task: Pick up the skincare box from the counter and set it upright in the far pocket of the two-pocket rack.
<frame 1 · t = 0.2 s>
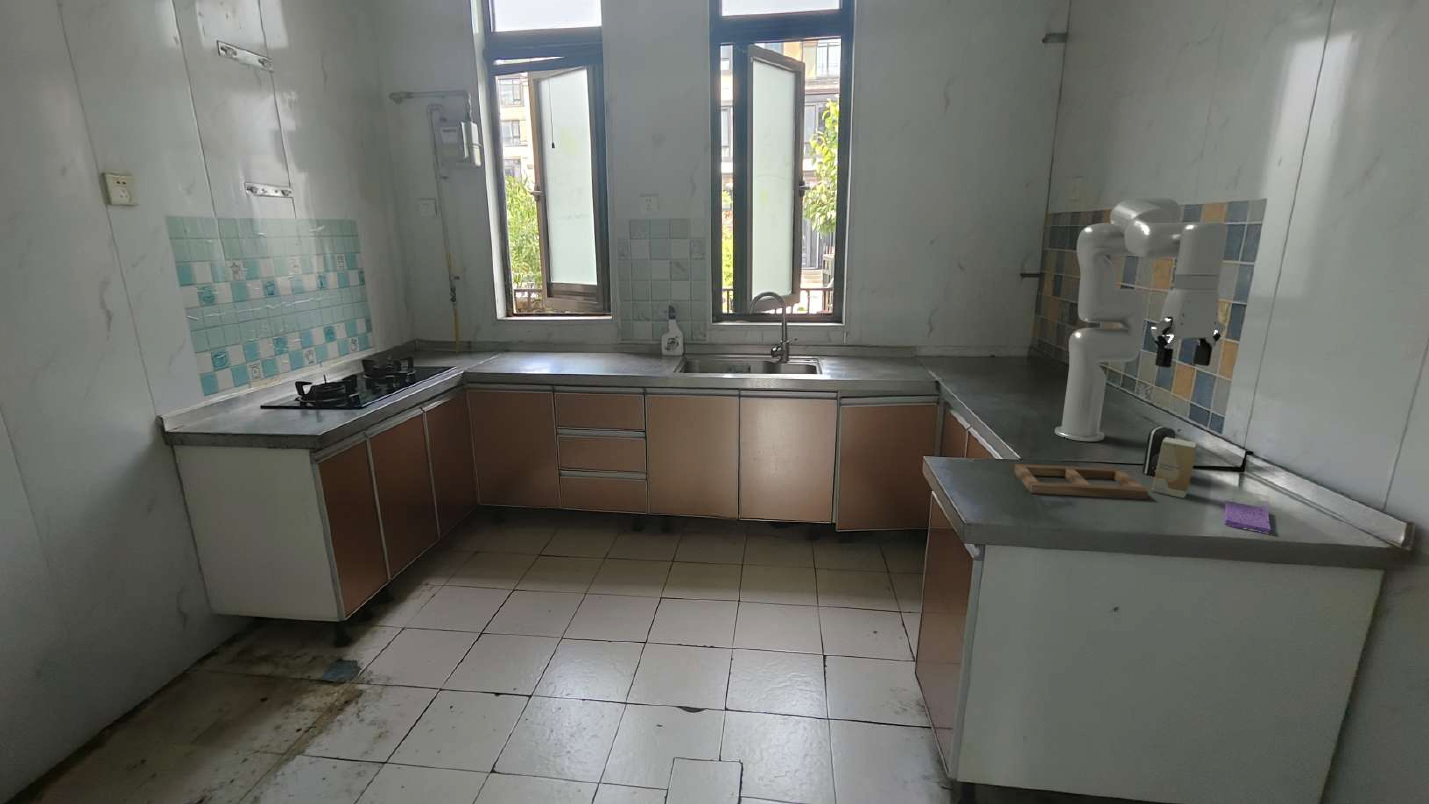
hand: (1182, 365, 134), 30 cm above the counter, tool pointing down, fingers open, 9 cm apart
skincare box: (1169, 493, 143), on the counter
sponges: (1245, 522, 130), on the counter
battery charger: (1155, 473, 155), on the counter
rack: (1076, 484, 148), on the counter
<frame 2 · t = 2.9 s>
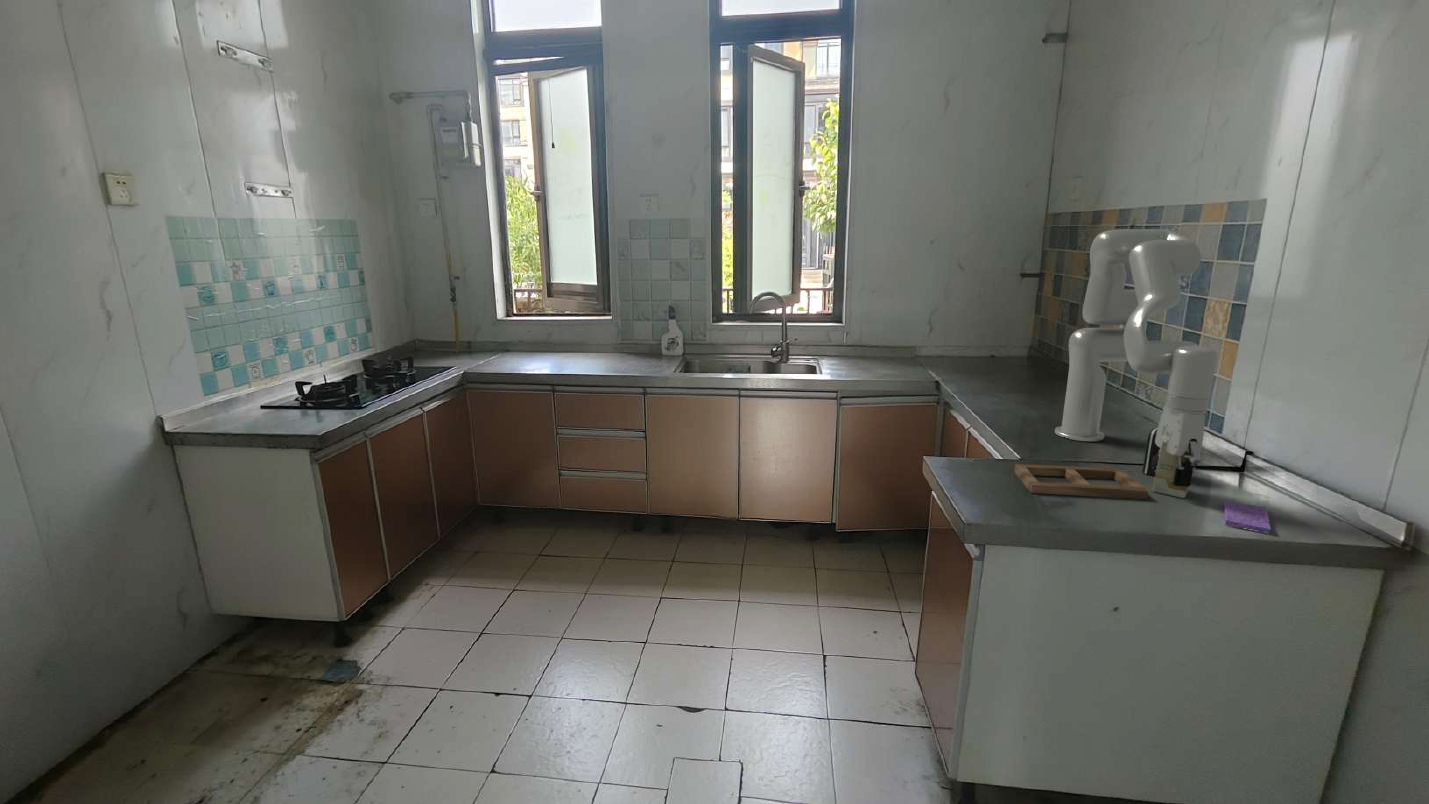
hand: (1172, 479, 142), 3 cm above the counter, tool pointing down, fingers closed on skincare box, 6 cm apart
skincare box: (1170, 493, 143), on the counter, touching gripper
everything else where it was.
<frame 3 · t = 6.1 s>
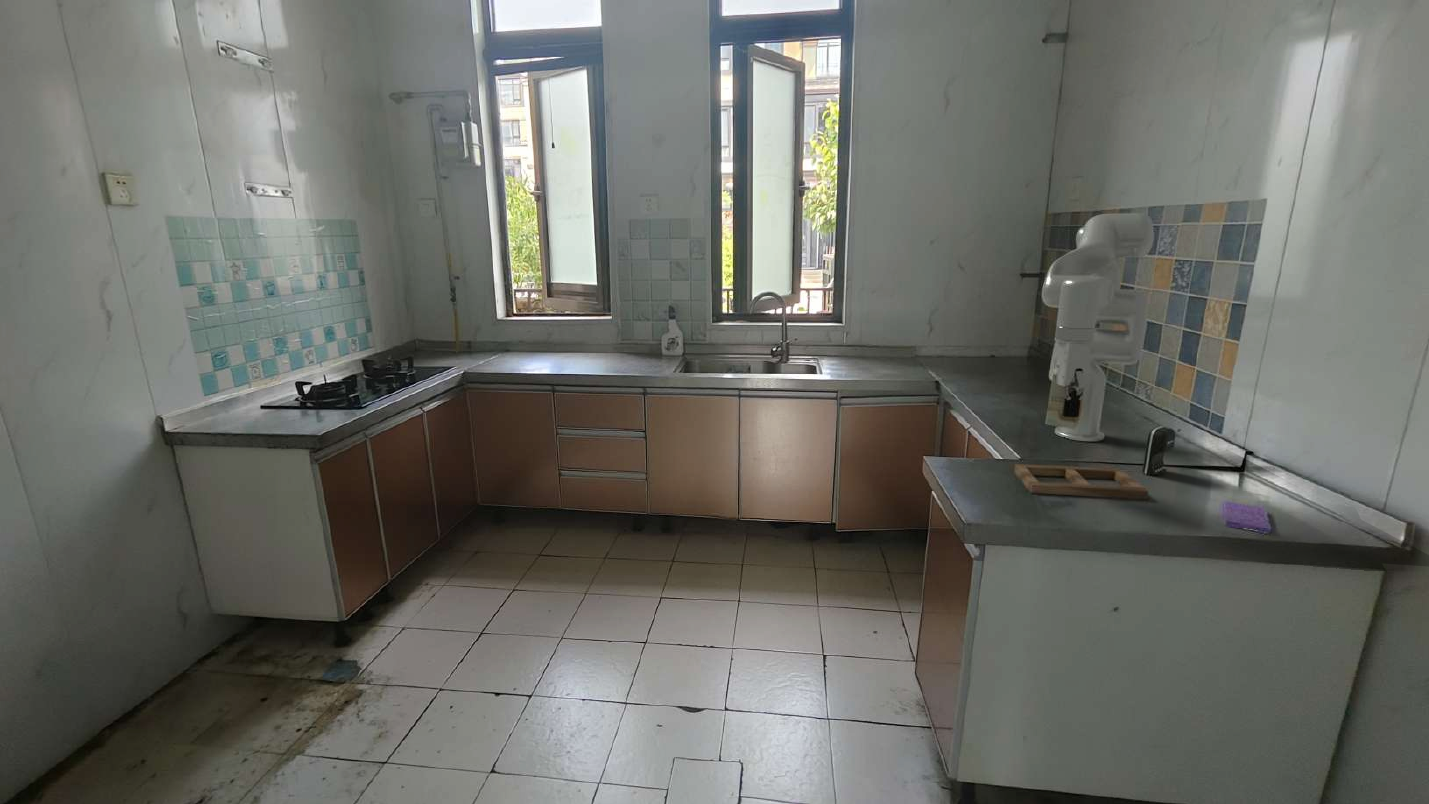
hand: (1064, 411, 145), 18 cm above the counter, tool pointing down, fingers closed on skincare box, 6 cm apart
skincare box: (1062, 426, 145), point 14 cm above the counter, touching gripper
everything else where it was.
when the fingers open (4 cm above the counter, at t = 9.2 s): skincare box drops 1 cm, resting in rack.
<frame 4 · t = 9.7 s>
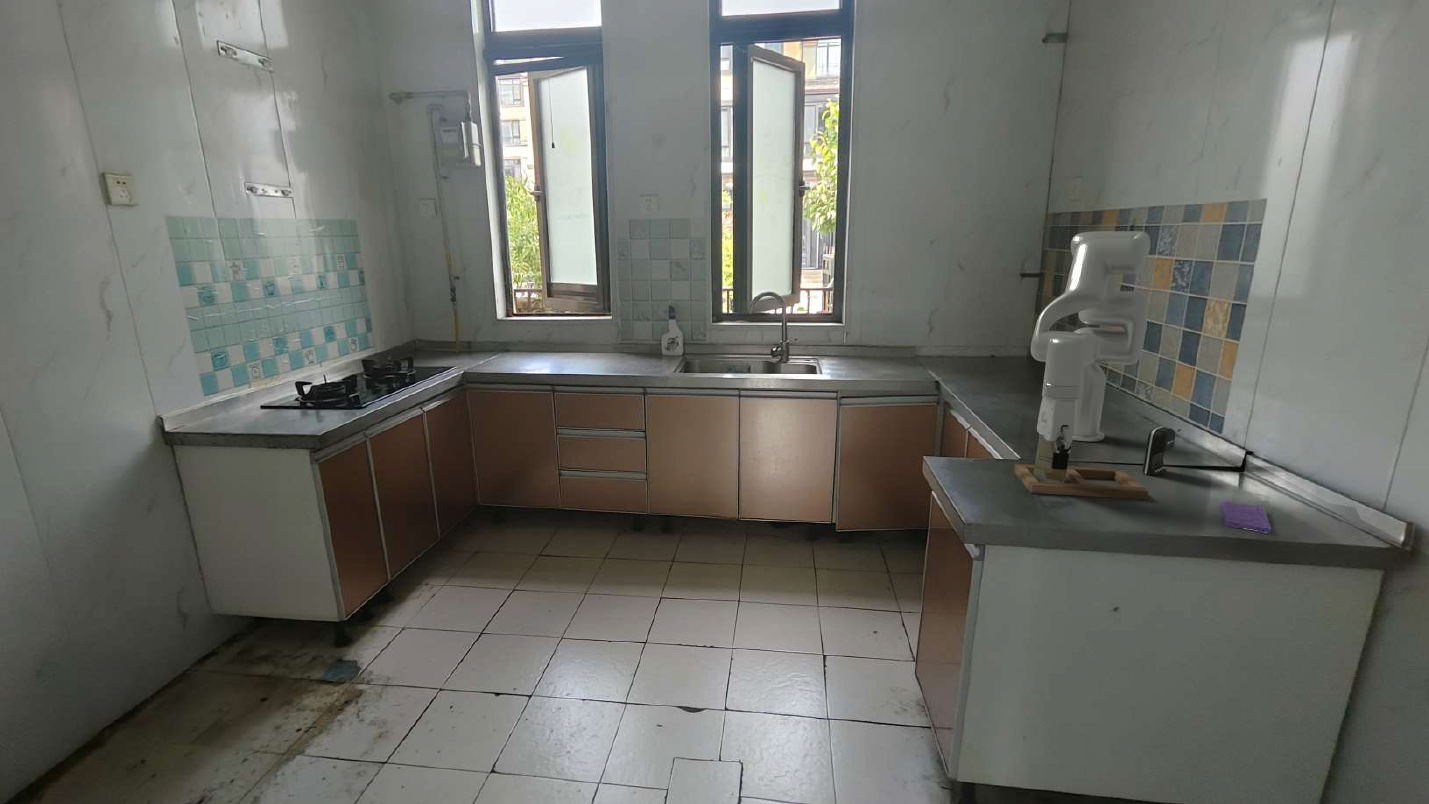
hand: (1051, 461, 148), 5 cm above the counter, tool pointing down, fingers open, 9 cm apart
skincare box: (1048, 483, 149), resting in rack
everything else where it was.
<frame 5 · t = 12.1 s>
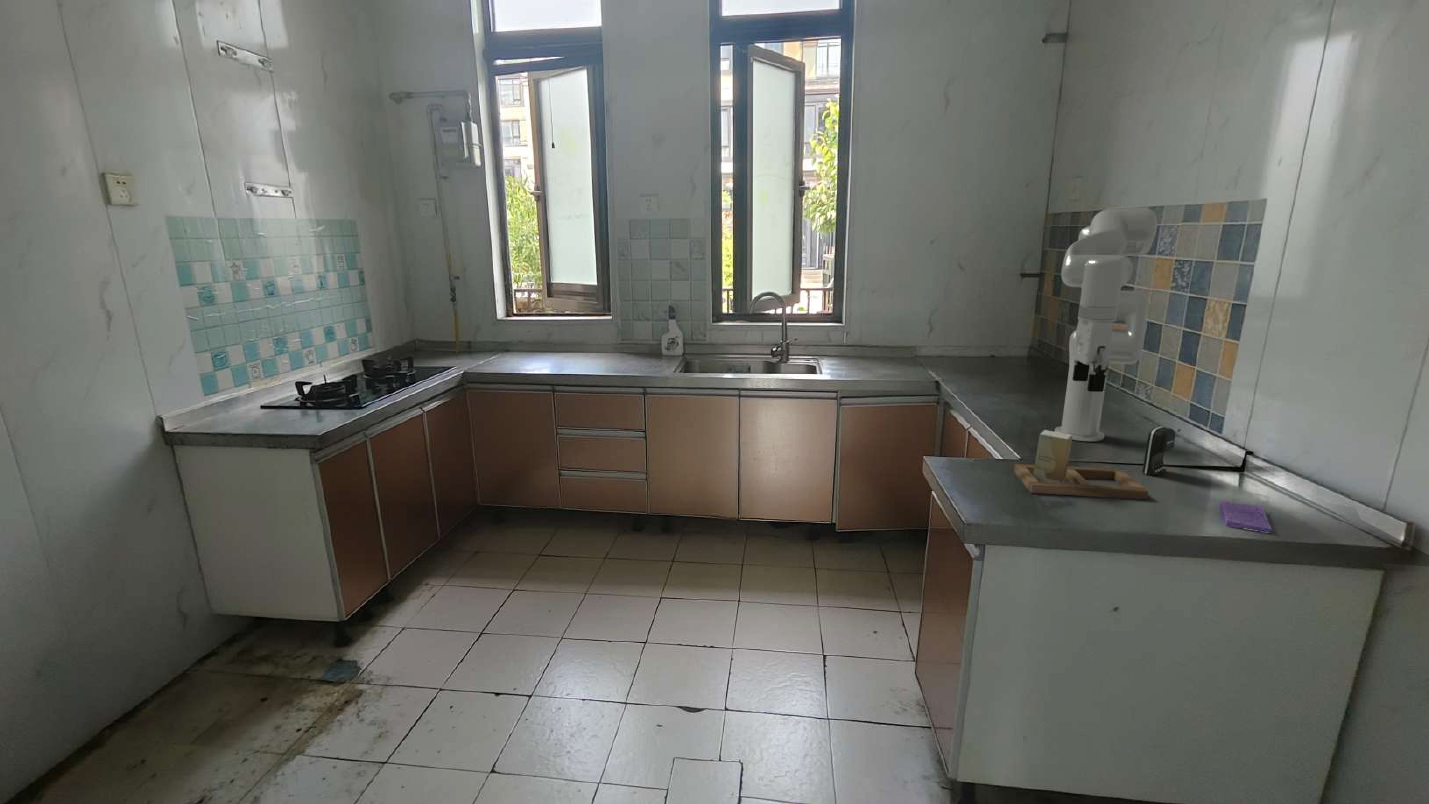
hand: (1087, 385, 148), 22 cm above the counter, tool pointing down, fingers open, 9 cm apart
nothing on the counter moved.
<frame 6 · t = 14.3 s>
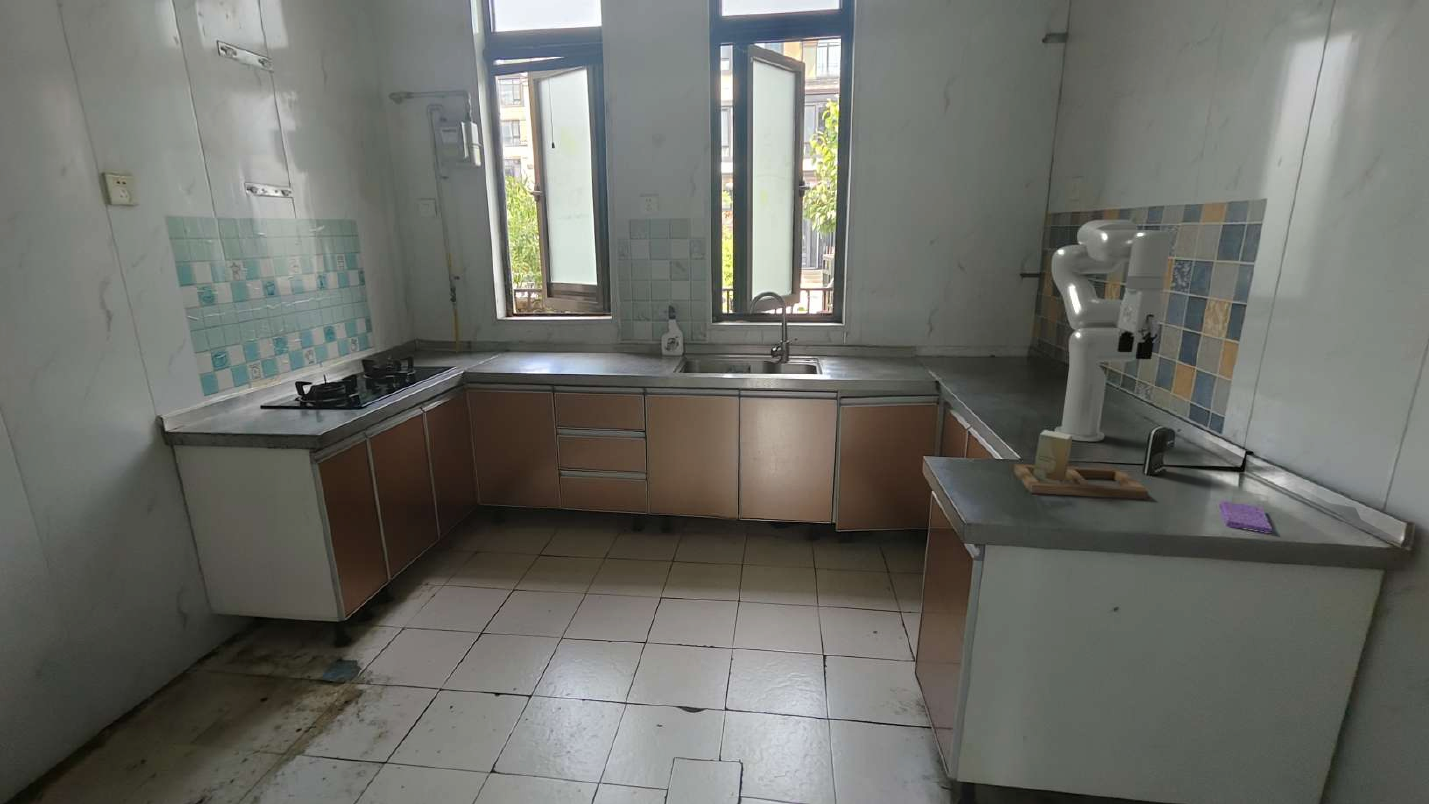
hand: (1133, 355, 154), 28 cm above the counter, tool pointing down, fingers open, 9 cm apart
nothing on the counter moved.
at the end: skincare box 0.1 cm from the target spot on the rack, point 0.0 cm above the rack's base; skincare box tilted 0°; the gripper is holding nothing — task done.
